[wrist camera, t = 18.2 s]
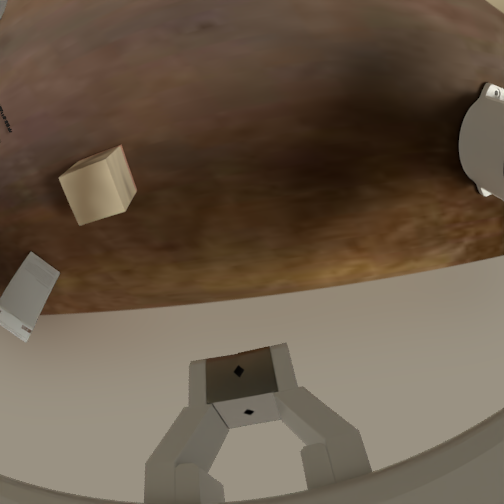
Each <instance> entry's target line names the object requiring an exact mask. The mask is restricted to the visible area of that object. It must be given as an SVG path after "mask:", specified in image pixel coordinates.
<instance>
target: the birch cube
mask: <svg viewBox="0 0 504 504" xmlns="http://www.w3.org/2000/svg"><path fill="white" fill-rule="evenodd" d="M59 181H60V183H61V185H62V188H63V190H64V193H65V195H66V197H67V200H68V202H69V204H70V206H71V209H72V211H73V213H74V215H75V217H76V220H77V222H78V224H79V226H81V225H84V224H87V223H90V222H93V221H96V220H100V219H103V218H106V217H109V216H112V215H116V214H119V213H122V212H125V211H126V210H127V208H128V206H129V204H130V202H131V200H132V199H133V197H134V195H135V193H136V192H137V188H136V185H135V182H134V180H133V177H132V174H131V171H130V168H129V166H128V163H127V160H126V157H125V154H124V151H123V148H122V145H119V146H116V147H113V148H111V149H108V150H105V151H102V152H100V153H97V154H95V155H92V156H89V157H87V158H84V159H82V160H80V161H78V162H77V163H75V164H74V165H73V166H72V167H71V168H69V169H68V170H67V171H66V172H65V173H63V174H62V175H61V176H60V177H59Z"/></svg>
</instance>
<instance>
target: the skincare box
mask: <svg viewBox="0 0 504 504" xmlns="http://www.w3.org/2000/svg"><path fill="white" fill-rule="evenodd" d="M59 275H60V272H59V271H57V270H56V269H54V268H53V267H52V266H50V265H49V264H48V263H46V262H45V261H44V260H42V259H41V258H39V257H38V256H37V255H35V254H34V253H33V252H30V253H29V254H28V256H27V257H26V259H25V260H24V262H23V263H22V265H21V266H20V267H19V269H18V270H17V272H16V273H15V275H14V276H13V278H12V279H11V281H10V283H9V284H8V286H7V287H6V289H5V291H4V292H3V294H2V296H1V298H0V325H1V326H2V327H4V328H5V329H7V330H8V331H9V332H11V333H12V334H14V335H15V336H17V337H18V338H20V339H21V340H23V341H24V342H27V341H28V338H29V336H30V334H31V333H32V331H33V329H34V327H35V324H36V322H37V320H38V317H39V315H40V313H41V311H42V309H43V307H44V304H45V302H46V300H47V298H48V296H49V294H50V292H51V290H52V288H53V286H54V284H55V282H56V280H57V279H58V277H59Z"/></svg>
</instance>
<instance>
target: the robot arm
mask: <svg viewBox="0 0 504 504" xmlns="http://www.w3.org/2000/svg"><path fill="white" fill-rule="evenodd" d="M459 156H460V161H461V164H462V167H463V169H464V171H465V173H466V174H467V176H468V177H469V178H470V179H472V180H473V181H474V182H475V183H476V185H477V188H478V191H479V193H480V194H481V195H483V196H489V195H491V194H493V195H495V196H497V197H498V198H500V199H502V200H503V201H504V89H503V88H500V87H498V86H496V85H494V84H491V83H486V84H485V86H484V88H483V90H482V92H481V95H480V97H479V98H478V100H477V101H476V102H475V103H474V104H473V105H472V106H471V107H470V108H469V110H468V112H467V113H466V115H465V117H464V120H463V123H462V126H461V130H460V136H459ZM280 419H281V420H282V421H283V422H284V423H285V424H286V425H287V426H288V427H289V428H290V429H291V430H292V431H293V432H294V433H295V434H296V435H297V436H298V437H299V438H300V439H301V440H302V441H303V442H304V443H305V444H306V445H307V446H304V447H303V449H302V450H301V457H302V461H303V467H304V472H305V477H306V482H307V488H308V490H305V491H300V492H295V493H290V494H285V495H279V496H273V497H266V498H259V499H252V500H243V501H234V502H225V498H224V489H223V485H222V484H221V483H220V482H219V481H217V480H216V479H214V478H213V477H211V476H210V475H209V474H208V471H209V469H210V468H211V466H212V464H213V461H214V460H215V458H216V456H217V454H218V452H219V450H220V448H221V446H222V444H223V442H224V440H225V438H226V435H227V434H228V432H229V429H230V428H236V427H241V426H247V425H252V424H258V423H264V422H270V421H276V420H280ZM0 504H504V408H503V409H501V410H499V411H498V412H496V413H495V414H493V415H492V416H491V417H488V418H487V419H485V420H484V421H482V422H480V423H478V424H477V425H475V426H473V427H471V428H470V429H468V430H466V431H464V432H462V433H461V434H459V435H457V436H455V437H453V438H451V439H449V440H447V441H445V442H443V443H441V444H439V445H437V446H435V447H433V448H431V449H428V450H426V451H424V452H422V453H420V454H417V455H415V456H413V457H410V458H408V459H406V460H403V461H400V462H398V463H395V464H393V465H390V466H387V467H385V468H382V469H379V470H376V471H373V472H372V470H371V466H370V463H369V460H368V457H367V454H366V451H365V448H364V445H363V441H362V438H361V435H360V432H359V430H358V429H356V428H355V427H354V426H352V425H351V424H350V423H348V422H347V421H346V420H344V419H343V418H342V417H341V416H339V415H338V414H337V413H335V412H334V411H333V410H332V409H330V408H329V407H328V406H327V405H325V404H324V403H323V402H321V401H320V400H319V399H318V398H317V397H315V396H314V395H313V394H311V393H310V392H309V391H308V390H307V389H305V388H304V387H298V386H297V382H296V378H295V374H294V369H293V366H292V362H291V358H290V354H289V350H288V346H287V343H282V344H278V345H274V346H271V347H270V346H268V347H264V348H259V349H255V350H250V351H246V352H241V353H238V354H234V355H228V356H222V357H216V358H209V359H203V360H196V361H191V363H190V366H189V407H184V408H183V410H182V411H181V413H180V414H179V416H178V417H177V418H176V420H175V421H174V423H173V424H172V426H171V427H170V429H169V430H168V432H167V433H166V434H165V436H164V437H163V439H162V440H161V442H160V443H159V445H158V446H157V447H156V449H155V450H154V452H153V453H152V455H151V456H150V457H149V459H148V460H147V462H146V463H145V490H144V503H137V502H136V503H135V502H125V501H115V500H107V499H100V498H92V497H87V496H80V495H75V494H70V493H65V492H60V491H56V490H52V489H48V488H43V487H40V486H36V485H32V484H29V483H25V482H22V481H19V480H16V479H12V478H9V477H6V476H4V475H1V474H0Z"/></svg>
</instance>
